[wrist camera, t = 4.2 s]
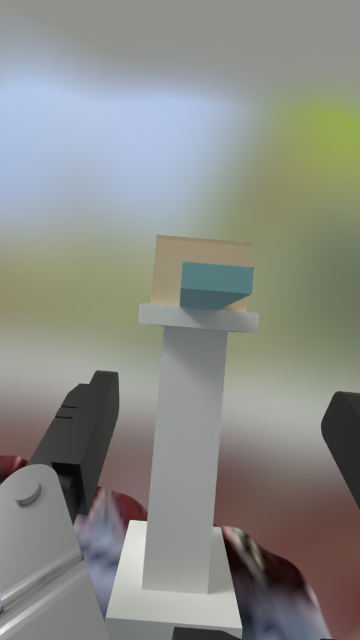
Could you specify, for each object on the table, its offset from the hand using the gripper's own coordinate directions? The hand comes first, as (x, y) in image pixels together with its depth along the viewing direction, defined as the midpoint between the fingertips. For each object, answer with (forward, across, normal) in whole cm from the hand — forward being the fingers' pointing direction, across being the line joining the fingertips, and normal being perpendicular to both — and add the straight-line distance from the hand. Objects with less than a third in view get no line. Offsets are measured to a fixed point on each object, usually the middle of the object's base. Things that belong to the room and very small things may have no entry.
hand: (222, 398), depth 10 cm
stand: (+6, 0, +35) cm, 36 cm away
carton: (+16, 0, +4) cm, 17 cm away
